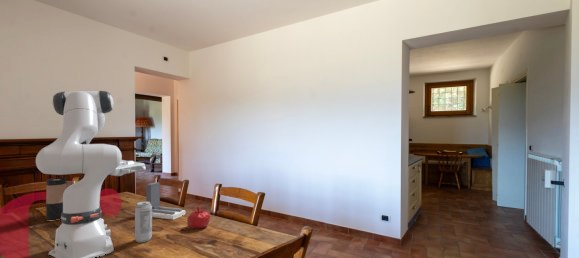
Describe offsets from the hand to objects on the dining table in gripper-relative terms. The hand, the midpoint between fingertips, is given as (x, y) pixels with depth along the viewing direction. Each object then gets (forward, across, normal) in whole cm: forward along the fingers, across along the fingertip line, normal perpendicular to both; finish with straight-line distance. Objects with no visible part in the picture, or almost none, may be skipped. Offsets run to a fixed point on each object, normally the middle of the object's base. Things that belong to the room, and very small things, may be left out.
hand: (137, 170), depth 147 cm
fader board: (+18, 0, +22) cm, 28 cm away
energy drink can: (+35, -29, +21) cm, 50 cm away
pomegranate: (+46, -9, +21) cm, 52 cm away
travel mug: (-28, -22, +24) cm, 43 cm away
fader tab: (+11, 0, +20) cm, 23 cm away
